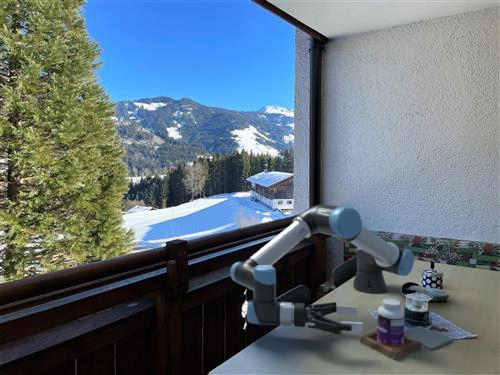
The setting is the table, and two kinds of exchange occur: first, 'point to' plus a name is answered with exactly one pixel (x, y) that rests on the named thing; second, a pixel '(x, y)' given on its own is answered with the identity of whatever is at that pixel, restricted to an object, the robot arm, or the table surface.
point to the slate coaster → (427, 337)
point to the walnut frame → (394, 354)
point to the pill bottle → (390, 324)
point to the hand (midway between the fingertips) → (359, 318)
